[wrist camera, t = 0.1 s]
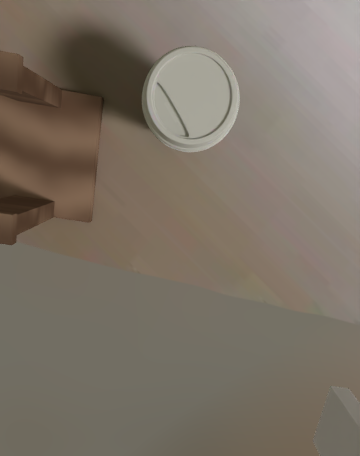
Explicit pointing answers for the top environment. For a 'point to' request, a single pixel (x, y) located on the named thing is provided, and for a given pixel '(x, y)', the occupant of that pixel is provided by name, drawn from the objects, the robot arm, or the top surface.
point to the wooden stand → (44, 150)
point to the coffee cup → (190, 99)
